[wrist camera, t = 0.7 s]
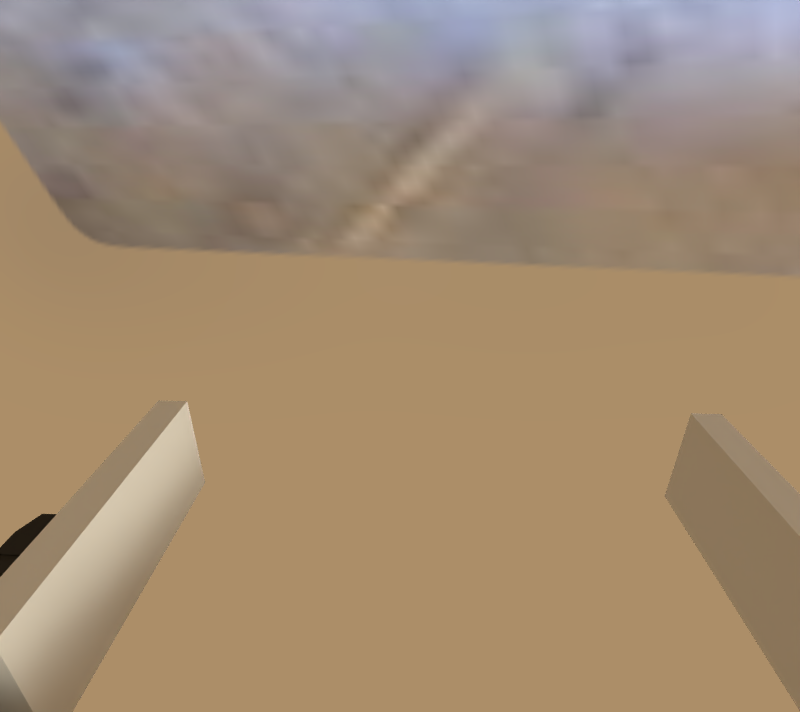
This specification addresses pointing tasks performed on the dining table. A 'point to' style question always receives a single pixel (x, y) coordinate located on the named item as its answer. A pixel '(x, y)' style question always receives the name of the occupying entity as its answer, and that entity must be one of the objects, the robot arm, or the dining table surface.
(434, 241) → the dining table surface
